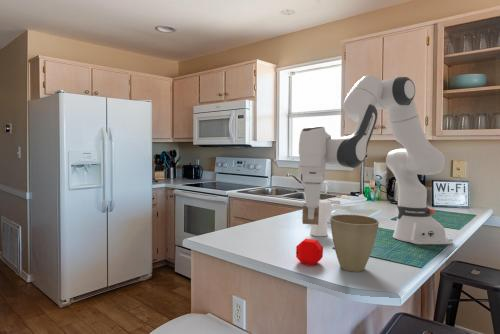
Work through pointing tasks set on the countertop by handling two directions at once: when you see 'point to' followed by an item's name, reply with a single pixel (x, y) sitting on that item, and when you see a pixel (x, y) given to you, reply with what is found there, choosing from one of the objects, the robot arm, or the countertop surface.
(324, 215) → the cup
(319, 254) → the ball
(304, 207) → the walnut block
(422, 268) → the countertop surface
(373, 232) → the plant pot
